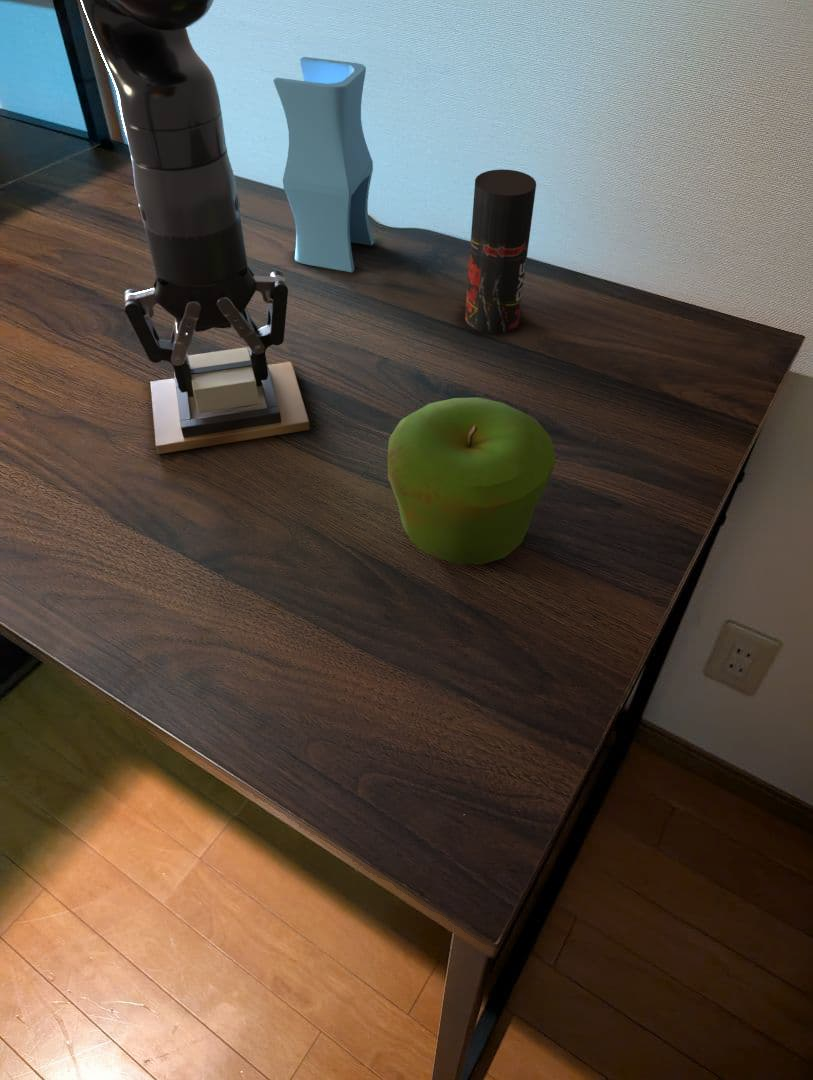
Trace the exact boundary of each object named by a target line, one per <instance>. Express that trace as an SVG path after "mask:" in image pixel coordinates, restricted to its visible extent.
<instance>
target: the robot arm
mask: <svg viewBox="0 0 813 1080" xmlns="http://www.w3.org/2000/svg"><path fill="white" fill-rule="evenodd" d="M214 1H215V0H80V2H81V5H82V8H83V11H84V13H85V15H86V18H87V21H88V23H89V26H90V28H91V31H92V34H93V36H94V39H95V41H96V44H97V47H98V49H99V52H100V54H101V57H102V59H103V61H104V63H105V66H106V68H107V71H108V72H109V75H110V77H111V79H112V82H113V84H114V87H115V90H116V95H117V100H118V106H119V110H120V115H121V120H122V124H123V128H124V132H125V137H126V140H127V145H128V149H129V154H130V159H131V164H132V173H133V174H132V175H133V183H134V189H135V195H136V198H137V203H138V206H137V208H138V212H139V215H140V218H141V220H142V224H143V226H144V232H145V236H146V240H147V244H148V247H149V252H150V253H149V254H150V257H151V260H152V265H153V269H154V274H155V280H154V283H153V288H150V289H146V290H142V291H137V290H136V289H133V288H129V289H126V290H125V291H124V293H123V302H124V303H123V305H124V313H125V314H126V316H127V318H128V320H129V322H130V323H131V326H132V328H133V330H134V332H135V334H136V336H137V338H138V340H139V343H141V346H142V348H143V350H144V352H145V354H146V356H147V358H148V360H149V361H150V362H152V363H155V364H156V363H157V364H158V363H160V362H162V361H163V362H168V363H170V364H171V365H172V367H173V372H174V371H175V375H176V379H177V384H178V388H179V389H180V391H181V392H187V393H188V397H194V392H193V386H192V375H191V368H190V363H189V358H188V356H189V354H188V350H189V347H190V346H191V345H192V341H193V337H194V333H199V332H200V333H201V332H206V331H208V330H210V329H213V328H215V329H229V328H233V329H234V330H235V332H236V333H237V335H238V336H239V337H240V339H243V341H244V343H245V344H246V345H247V347H248V351H249V357H250V361H251V365H252V370H253V372H254V376H255V380H256V386H257V387H259V386H262V380H267V378H268V369H267V363H268V361H267V362H266V359H267V356H266V351H267V349H268V348H269V347H271V346H280V345H282V344H283V343H284V341H285V339H284V338H285V331H286V319H287V307H288V295H289V289H288V286H287V283H286V279H285V275H284V273H283V272H281V271H279V270H274V271H272V272H271V273H270V275H255V274H254V273H253V271H252V270H251V269H250V267H249V266H248V259H247V253H246V252H247V251H246V247H245V245H246V244H245V239H244V232H243V224H242V219H241V212H240V197H239V195H238V192H237V184H236V179H235V174H234V170H233V166H232V164H231V160H230V155H229V152H228V151H229V150H228V147H227V139H226V132H225V127H224V121H223V120H224V119H223V113H222V106H221V102H220V101H221V100H220V95H219V90H218V86H217V83H216V79H215V77H214V75H213V73H212V71H211V69H210V68H209V66H208V65H207V64H206V63H205V62H204V60H203V59H202V58H201V57H200V56H199V55H198V54H197V52H196V50H195V49H194V47H193V44H192V43H191V39H190V37H189V36H190V35H189V33H188V30H187V29H188V28H190V27H192V26H194V25H196V24H198V22H200V21H201V20H202V19H203V18H204V17H205V16H206V15H207V13H208V12H209V10H210V9H211V7H212V5H213V3H214ZM256 292H259V293H260V294H261V297H262V301H264V303H266V304H267V312H266V325H264V326H262V327H260V328H259V327H258V326H257V324H256V323H255V322H254V320H253V319H252V317H251V315H250V313H249V311H248V309H247V307H248V305H249V303H250V301H251V300H252V298H253V297H254V295H255V293H256ZM157 304H158V305H159V306H160V307H161V308H162V309H164V311H166V312H168V313H169V314H170V315H171V316H172V317H173V323H172V324H173V325H172V331H171V334H170V338H169V340H165V339H161V338H160V337H161V336H159V333H158V331H157V329H156V327H155V325H154V323H153V320H152V318H153V317H154V314H155V311H154V308H155V307H154V306H155V305H157Z"/></svg>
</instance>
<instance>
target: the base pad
mask: <svg viewBox="0 0 813 1080" xmlns="http://www.w3.org/2000/svg"><path fill="white" fill-rule="evenodd" d="M266 362H267V369H268V378H267V380H262V386H259V387H257V392H258V399H259V404H254V405H248V406H241V407H235V408H229V409H222V410H216V411H209V412H203V413H198V409H197V405H196V401H195V397H188V393H187V392H181V391H180V389H179V388H178V384H177V379H176V375H175V371H174V370H173V375H174V378H168V379H161V380H155V381H150V383H149V384H150V396H151V407H152V420H153V430H154V440H155V441H154V442H155V449H156V452H157V455H161V454H169V453H175V452H180V451H181V452H182V451H188V450H194V449H199V448H206V447H212V446H217V445H218V446H219V445H222V444H230V443H237V442H242V441H250V440H255V439H261V438H268V437H273V436H281V435H285V434H291V433H299V432H305V431H310V430H311V426H310V420H309V416H308V413H307V409H306V406H305V403H304V399H303V395H302V393H301V389H300V386H299V382H298V379H297V376H296V373H295V372H296V371H295V368H294V365H293V362H292V361H285V362H279V363H272V364H269V363H268V359H267V358H266Z"/></svg>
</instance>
